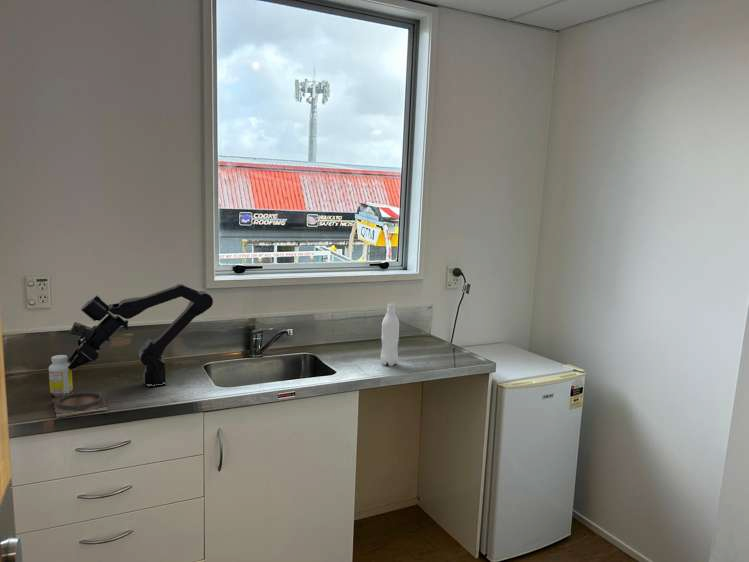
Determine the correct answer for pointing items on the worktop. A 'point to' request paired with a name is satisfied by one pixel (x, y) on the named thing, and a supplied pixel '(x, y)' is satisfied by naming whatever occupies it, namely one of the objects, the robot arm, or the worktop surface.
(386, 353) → the water bottle
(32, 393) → the worktop surface
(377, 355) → the worktop surface
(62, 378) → the supplement bottle
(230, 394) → the worktop surface
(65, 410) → the locating board
